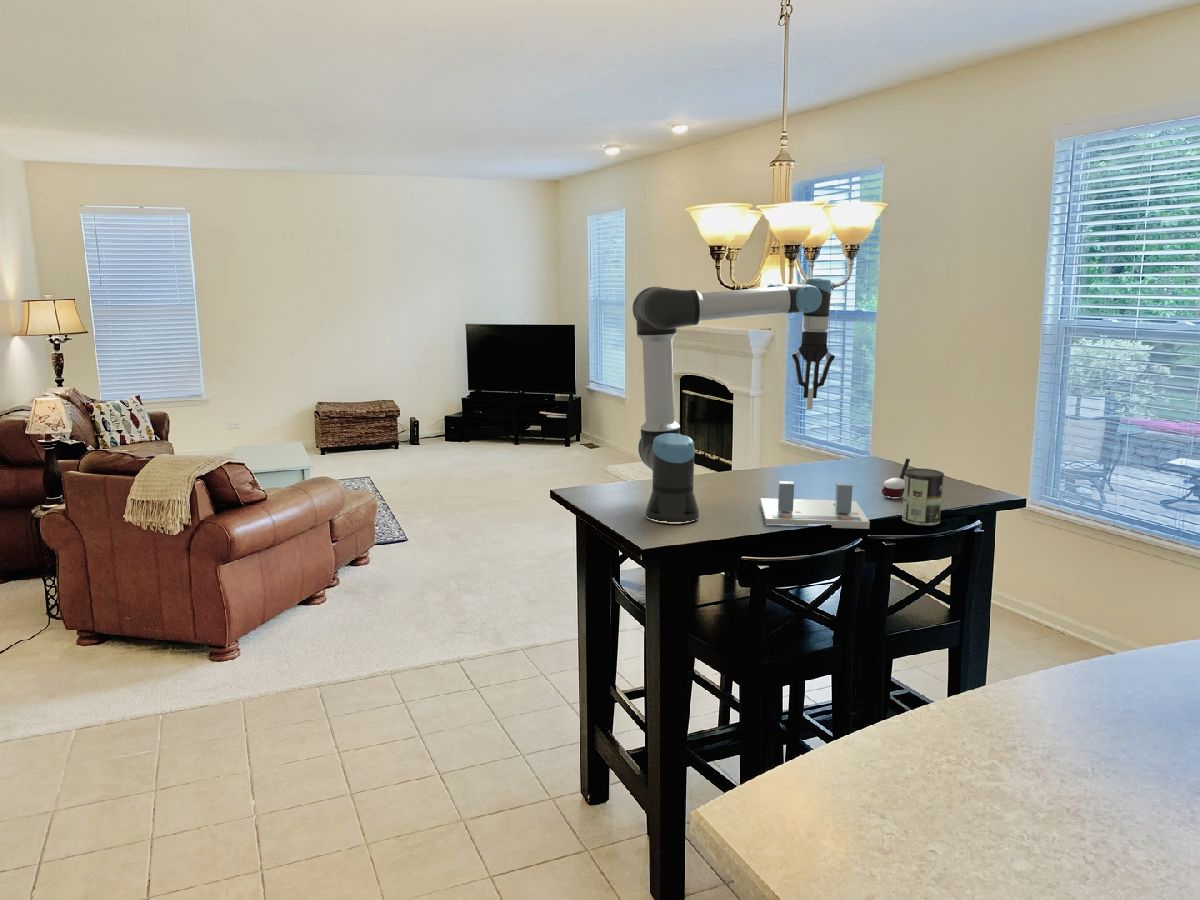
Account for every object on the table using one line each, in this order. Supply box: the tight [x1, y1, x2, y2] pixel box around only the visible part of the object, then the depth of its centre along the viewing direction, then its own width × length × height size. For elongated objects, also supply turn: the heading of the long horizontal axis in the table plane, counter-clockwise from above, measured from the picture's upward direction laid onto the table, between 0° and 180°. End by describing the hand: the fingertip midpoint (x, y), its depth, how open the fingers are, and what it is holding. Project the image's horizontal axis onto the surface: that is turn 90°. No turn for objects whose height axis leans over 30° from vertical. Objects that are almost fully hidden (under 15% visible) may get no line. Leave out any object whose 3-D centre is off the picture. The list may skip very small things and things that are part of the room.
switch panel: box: [759, 497, 871, 530], centre depth 250 cm, size 28×22×2 cm
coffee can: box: [901, 467, 945, 526], centre depth 245 cm, size 10×10×14 cm
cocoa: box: [881, 457, 911, 498], centre depth 269 cm, size 10×6×12 cm, turn 90°
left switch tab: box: [777, 480, 795, 511], centre depth 247 cm, size 4×3×8 cm
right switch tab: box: [834, 482, 853, 513], centre depth 245 cm, size 4×3×8 cm
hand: (808, 408), depth 264 cm, fingers closed
